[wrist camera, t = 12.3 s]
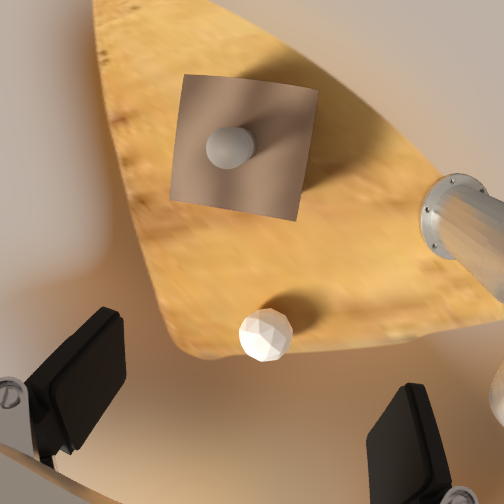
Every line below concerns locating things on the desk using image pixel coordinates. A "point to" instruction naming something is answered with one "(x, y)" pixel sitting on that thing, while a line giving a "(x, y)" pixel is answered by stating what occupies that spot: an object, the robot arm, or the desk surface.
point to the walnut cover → (242, 144)
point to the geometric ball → (266, 334)
